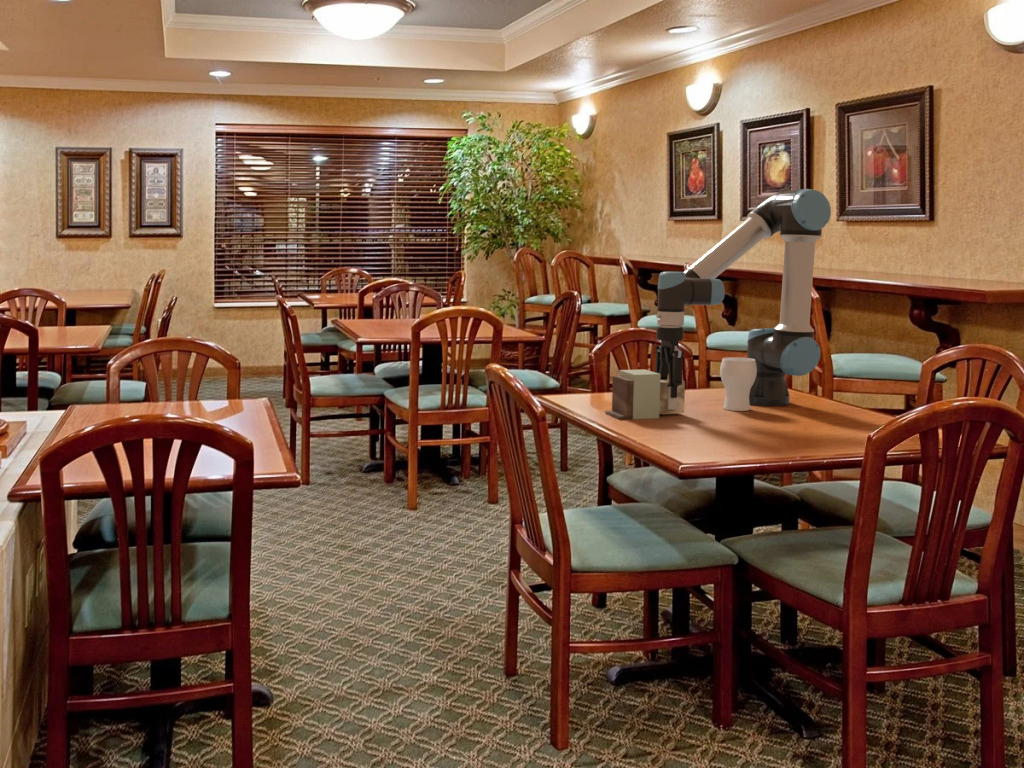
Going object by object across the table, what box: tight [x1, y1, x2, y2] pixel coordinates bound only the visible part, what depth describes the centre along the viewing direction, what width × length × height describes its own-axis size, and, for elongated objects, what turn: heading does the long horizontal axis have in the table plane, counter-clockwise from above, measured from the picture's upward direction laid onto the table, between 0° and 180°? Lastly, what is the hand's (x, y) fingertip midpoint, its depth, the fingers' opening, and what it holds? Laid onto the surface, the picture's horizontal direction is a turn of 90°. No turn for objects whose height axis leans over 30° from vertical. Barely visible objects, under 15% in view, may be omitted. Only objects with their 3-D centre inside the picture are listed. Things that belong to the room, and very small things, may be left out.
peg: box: [659, 378, 686, 415], centre depth 303 cm, size 14×5×9 cm, turn 108°
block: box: [618, 368, 661, 420], centre depth 301 cm, size 8×10×12 cm
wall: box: [604, 375, 634, 421], centre depth 299 cm, size 4×10×11 cm, turn 18°
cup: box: [719, 356, 757, 412], centre depth 315 cm, size 11×11×15 cm
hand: (667, 407), depth 304 cm, fingers open, 5 cm apart
